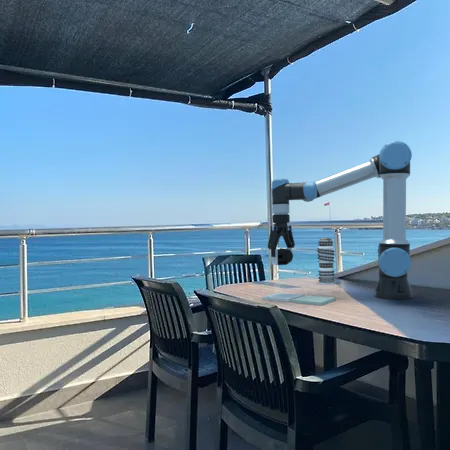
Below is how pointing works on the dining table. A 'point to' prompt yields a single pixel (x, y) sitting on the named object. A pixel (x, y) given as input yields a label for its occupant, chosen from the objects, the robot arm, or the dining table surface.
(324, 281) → the decorative candle
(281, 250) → the end cap
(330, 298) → the sage mat
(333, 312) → the dining table surface
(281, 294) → the pale blue mat
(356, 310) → the dining table surface
